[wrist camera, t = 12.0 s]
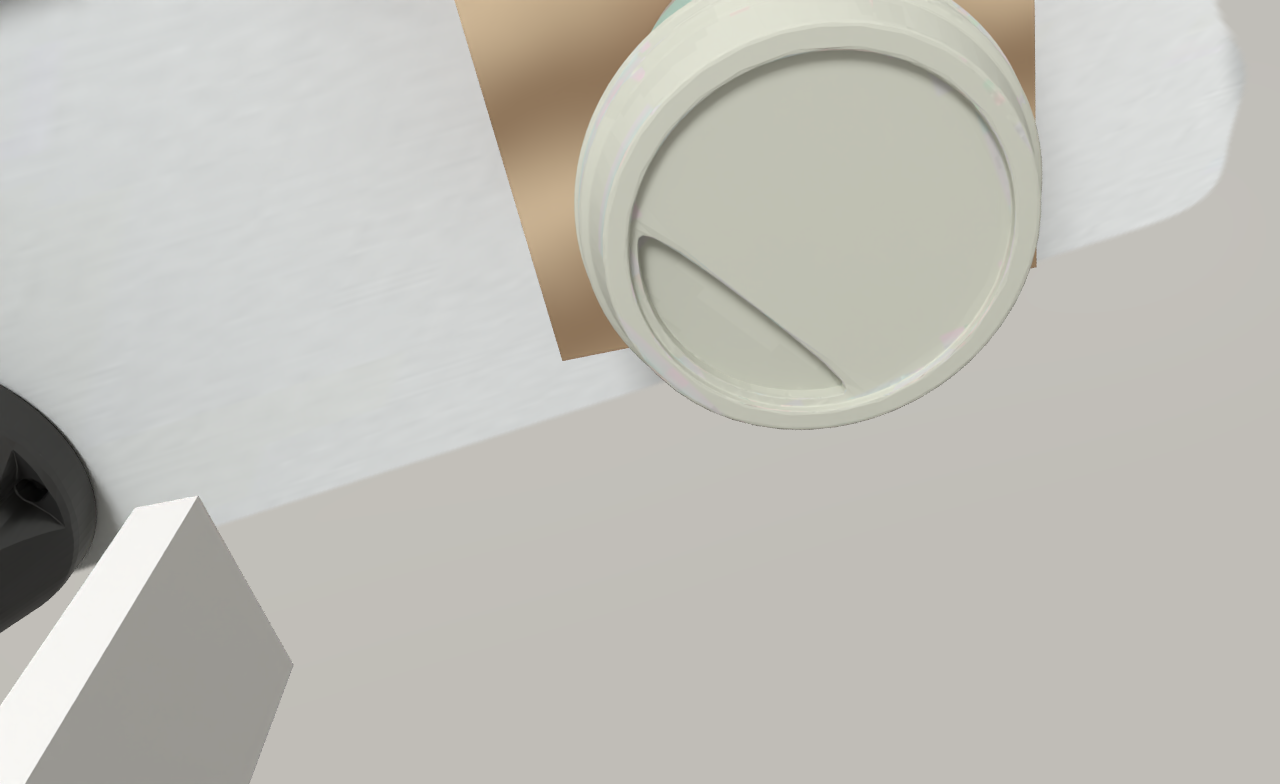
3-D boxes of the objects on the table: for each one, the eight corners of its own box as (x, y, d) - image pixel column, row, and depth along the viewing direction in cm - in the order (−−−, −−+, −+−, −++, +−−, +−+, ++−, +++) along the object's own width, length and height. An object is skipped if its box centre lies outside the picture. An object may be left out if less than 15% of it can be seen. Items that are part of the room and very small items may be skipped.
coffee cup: (544, -27, 25) (488, 90, 15) (867, -147, 24) (1046, -107, 14) (648, 260, 30) (659, 504, 19) (927, 172, 28) (1099, 383, 18)
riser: (931, 147, 40) (1036, 267, 30) (578, 222, 42) (562, 360, 31) (904, -285, 33) (1031, -324, 22) (472, -174, 34) (405, -162, 24)
